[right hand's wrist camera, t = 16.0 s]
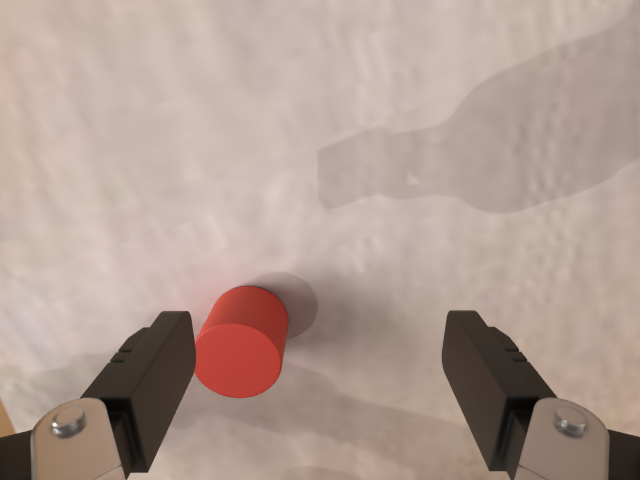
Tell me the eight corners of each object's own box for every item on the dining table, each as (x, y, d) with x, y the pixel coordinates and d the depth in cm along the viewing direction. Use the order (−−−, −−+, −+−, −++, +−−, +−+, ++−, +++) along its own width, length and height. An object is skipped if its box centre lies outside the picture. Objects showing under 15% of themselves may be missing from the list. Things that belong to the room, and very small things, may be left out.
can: (223, 275, 22) (202, 311, 18) (298, 299, 23) (293, 339, 19) (204, 338, 24) (181, 384, 20) (275, 360, 24) (266, 408, 20)
